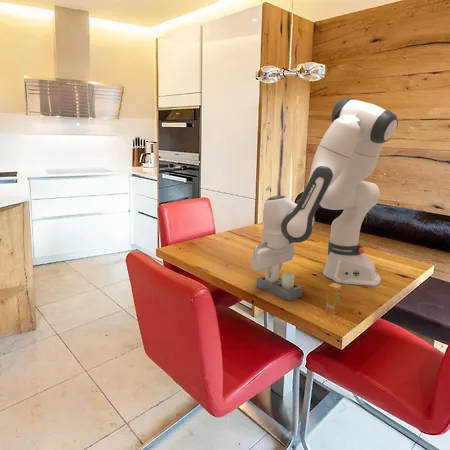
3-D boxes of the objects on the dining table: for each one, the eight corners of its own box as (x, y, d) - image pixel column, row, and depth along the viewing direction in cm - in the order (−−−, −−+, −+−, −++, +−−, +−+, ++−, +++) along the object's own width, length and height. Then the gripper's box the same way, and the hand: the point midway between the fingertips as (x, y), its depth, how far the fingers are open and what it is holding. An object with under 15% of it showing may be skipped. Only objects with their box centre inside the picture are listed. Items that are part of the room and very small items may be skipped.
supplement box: (334, 316, 122) (336, 287, 120) (324, 312, 125) (327, 284, 122) (339, 313, 124) (342, 285, 122) (330, 309, 127) (332, 281, 124)
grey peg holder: (301, 297, 136) (302, 286, 135) (289, 302, 131) (290, 292, 130) (268, 283, 147) (269, 273, 146) (256, 288, 143) (256, 278, 142)
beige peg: (293, 295, 136) (294, 274, 134) (287, 297, 134) (288, 276, 132) (286, 292, 138) (287, 271, 136) (281, 294, 137) (282, 273, 135)
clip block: (278, 284, 141) (279, 263, 139) (272, 286, 139) (273, 266, 137) (271, 281, 144) (272, 261, 142) (264, 283, 141) (265, 263, 139)
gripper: (261, 247, 128) (259, 285, 131) (298, 237, 141) (295, 272, 145) (247, 243, 132) (246, 280, 136) (284, 233, 146) (282, 267, 149)
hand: (272, 276), depth 140 cm, fingers closed on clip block, 3 cm apart
